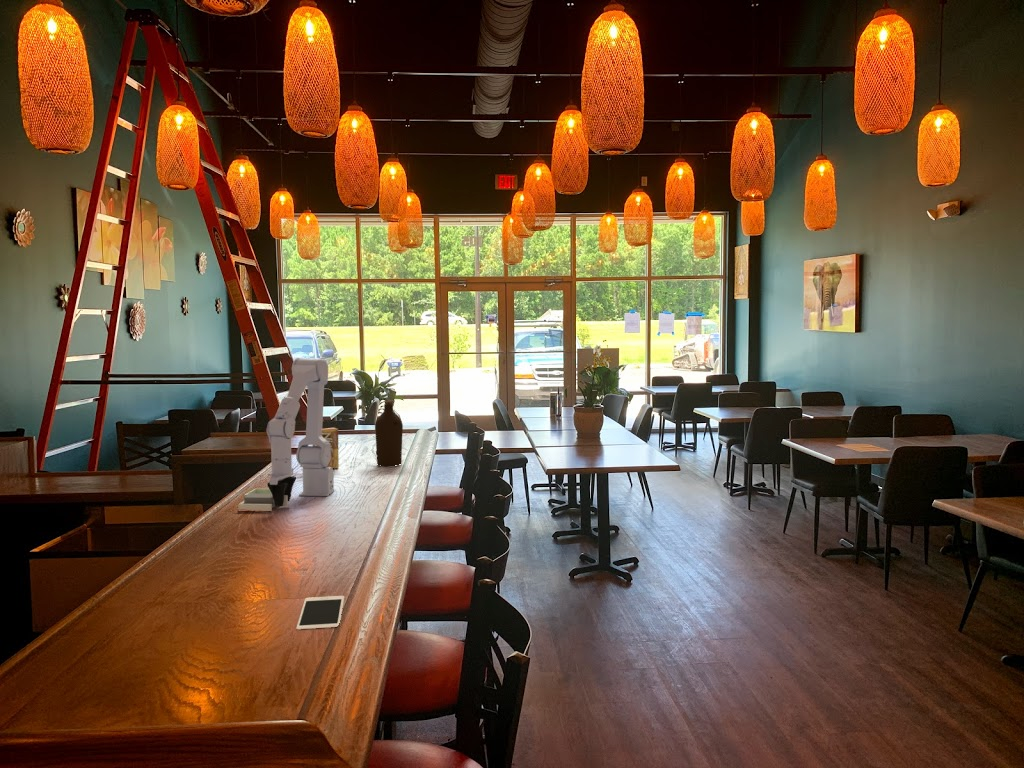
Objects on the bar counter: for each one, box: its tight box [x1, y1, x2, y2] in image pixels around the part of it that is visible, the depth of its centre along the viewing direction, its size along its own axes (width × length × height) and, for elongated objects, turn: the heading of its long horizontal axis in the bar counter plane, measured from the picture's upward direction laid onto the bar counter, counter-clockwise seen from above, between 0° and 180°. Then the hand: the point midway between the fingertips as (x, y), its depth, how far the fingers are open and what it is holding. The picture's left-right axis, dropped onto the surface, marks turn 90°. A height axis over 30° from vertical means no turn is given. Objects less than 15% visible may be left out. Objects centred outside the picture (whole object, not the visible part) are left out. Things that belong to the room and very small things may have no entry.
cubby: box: [237, 500, 273, 512], centre depth 229 cm, size 10×8×2 cm
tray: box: [243, 488, 272, 498], centre depth 240 cm, size 12×9×2 cm
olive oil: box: [374, 400, 404, 467], centre depth 297 cm, size 11×11×25 cm
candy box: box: [312, 427, 340, 469], centre depth 288 cm, size 9×4×15 cm, turn 129°
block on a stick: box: [243, 494, 289, 508], centre depth 230 cm, size 12×5×4 cm, turn 89°
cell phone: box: [295, 595, 345, 631], centre depth 149 cm, size 8×16×1 cm, turn 9°
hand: (282, 503), depth 229 cm, fingers open, 5 cm apart
